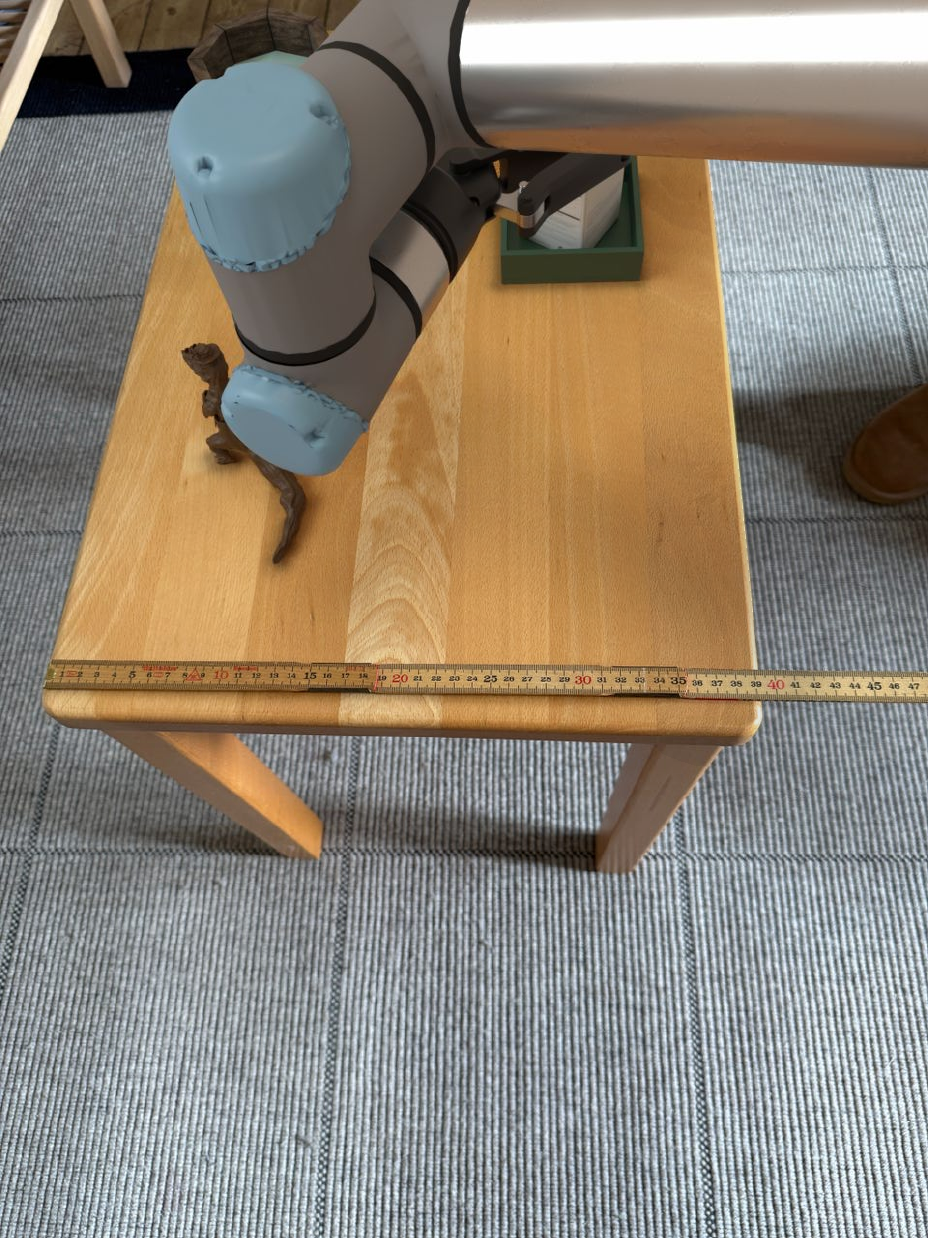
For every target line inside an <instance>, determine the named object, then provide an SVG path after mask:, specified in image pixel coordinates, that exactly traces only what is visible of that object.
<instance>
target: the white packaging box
mask: <svg viewBox="0 0 928 1238" xmlns="http://www.w3.org/2000/svg"><path fill="white" fill-rule="evenodd" d="M623 175H624V168H622V169H621V170H619V171H618V172H616V173H615V174H613V175H612V176H610V177H609V178H607V179H606V180H604V181H603V182H601V183H599V184H598V185H596V186H595V187H593V188H592V189H590V190H589V191H587V192H586V193H584V194H583V195H581V196H580V197H578V198H577V199H575V200H574V201H572V202H570V203H569V204H567V205H566V206H564V207H563V208H561V209H560V210H558V211H557V212H555V213H554V214H552V215H551V216H549V217H548V218H547V219H546V221H545V222H544V223H543V225H542V226H541V227H540V229H539V230H538V231H537V233H536V234H535V235H534V236H533V237H530V238H527V239H529V240H531V241H533V242H535V243H537V244H540V245H542V246H544V247H546V248H549V249H579V248H594V247H595V246H596V244H597V243H598V242H599V241H600V240H601V238H602V237H603V236H604V235H605V233H606V232H607V231H608V230H609V228H610V227H611V226H612V225H613V223H614V222H615V221H616V220H617V219H618V217H619V210H620V202H621V192H622V183H623ZM528 183H529V182H528Z"/></svg>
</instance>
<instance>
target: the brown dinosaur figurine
mask: <svg viewBox="0 0 928 1238" xmlns="http://www.w3.org/2000/svg"><path fill="white" fill-rule="evenodd" d="M180 353H181V356H182V359H183V361H184V362H185V363H186V365H187V366H188V367H189V368H190V370H192V371H193V374H195V375H196V376H199V377H200V379H201V381H202V382H203V383H206V384H208V389H204V390H203V392H202V393H201V401H202V404H201V413H202V416H203V417H204V419H208V418H209V417H211V418H212V417H213V421H214V427H215V428H217V429H218V432H215V433H212V434H211V435H209V436H207V438H205V444H207V446H208V449H209V451H211V452H212V453H214V454H215V455H214V458H216V459H217V461H216V464H218V465H223V464H227V463H231V464H232V463H234V462H235V457H234V456H233V454H232V453H231V452H230V451H232V450H236V451H238V452H242V453H245V454H246V455H247V456H248V457H249V459H250V460H251V462H252V463H253V464H254V466H256V468H257V469H258V471H259V472H260V474H261V475H262V476H263V477H264V478H265V479H266V480H267V481H268V482H269V483H270V484H271V486H272V487H273V488H274V489H277V490H279V492H280V496H279V504H280V505H281V507H283V509H284V511H285V513H286V517H285V518H284V519H285V520H284V523H283V527H282V534H281V538H280V542H279V543H278V546H277V547H276V548H275V551H274V554H273V555H272V559H271V562H272V564H273V565H277V564H279V563H280V562H282V559H283V557H284V556H285V554H286V552H287V551H288V550H289V548H290V546H291V544H292V542H293V540H294V538H295V537H296V535H297V534H298V532H299V528H300V521H301V517H302V513H303V510H304V508H305V506H306V504H307V495H306V493H305V491H304V489H303V487H302V485H300V484H299V481H298V478H297V477H296V475H295V473H293V472H290V471H288V470H285V469H282V468H280V467H278V466H275V465H273V464H272V463H270V462H268V461H266V460H265V459H263V458H261V457H260V456H259V455H257V454H256V453H254V452H253V451H252V450H250V449H249V448H248V447H247V446H246V445H245V444H243V443H242V442H241V441H240V440H239V439H238V437H237V436H236V435H235V434H234V433H233V432H232V430H231V429H230V428H229V426H228V425H227V423H226V421H225V419H224V417H223V414H222V410H221V404H222V395H223V392H224V390H225V388H226V386H227V384H228V382H229V380H230V377H229V371H230V366H229V364H228V362H227V360H226V357H225V354H224V353H223V350H221V349H220V347H219V345H218V344H217V343H215V342H211V343H207V344H206V343H204V342H198V343H195V342H194V343H192V345H190V346H189V347H185V348H184V349H181V350H180Z"/></svg>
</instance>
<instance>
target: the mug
mask: <svg viewBox="0 0 928 1238" xmlns="http://www.w3.org/2000/svg"><path fill="white" fill-rule="evenodd" d="M329 35H330V34H329V32H328V31H327V28H326V27H325V26H324V23H323V21H321V18H320V17H319V16H315V15H311V14H306V13H301V12H295V11H290V10H287V9H281V8H277V7H271V6H267V7H263V8H260V9H257V10H254V11H250V12H246V13H244V14H240V15H238V16H235V17H232V18H229V19H225V20H223V21H219V22H216V23H214V24H213V25H212V27H211V28H210V29H209V30H208V32H207V33H206V34H205V35H204V37H203V38H202V39H201V40H200V41H199V43H198V44H197V45H196V46H195V48H194V49H193V51H192V52H191V53H190V55H188V57H187V58H186V61H187V64H188V66H189V68H190V71H191V72H192V74H193V77H194V79H195V82H196V84H198V83H199V82H201V81H202V80H209V79H218V78H220V77H222V76H224V74H225V71H226V70H227V68H229V67H232V66H235V65H239V64H244V63H250V62H276V63H283V64H287V65H291V66H294V67H297V68H299V67H300V66H301V65H302V63H303V62H304V61H305V60H306V59H307V58H308V57H309V56H311V55H312V54H313V53H314V52H315V51H316V50H317V49H318V48H319V46H320V45H321V44H322V43H323V42H324V41H325V40H326V39H327V38H328V37H329Z"/></svg>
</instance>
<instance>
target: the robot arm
mask: <svg viewBox="0 0 928 1238" xmlns="http://www.w3.org/2000/svg"><path fill="white" fill-rule="evenodd" d="M166 138H167V139H166V143H167V144H166V145H167V153H168V158H169V162H170V166H171V169H172V172H173V175H174V178H175V185H176V188H177V191H178V192H179V196H180V199H181V202H182V204H183V208H184V214H185V217H186V220H187V223H188V226H189V229H190V232H191V234H192V236H193V237H194V238H195V240H196V242H197V244H198V246H199V247H200V248H201V249H202V252H203V253H204V257H205V258H206V261H207V263H208V265H209V267H210V269H211V271H212V273H213V276H214V278H215V280H216V282H217V284H218V286H219V289H220V291H221V293H222V295H223V297H224V299H225V302H226V304H227V307H228V309H229V311H230V313H231V317H232V322H233V328H234V330H235V334H236V336H237V339H238V341H239V344H240V346H241V348H242V351H243V354H244V355H243V358H242V360H241V362H240V363H239V364H238V365H237V366H235V367H234V368H233V370H232V372H231V377H229V379H230V380H229V382H228V384H227V386H226V388H225V390H224V392H223V395H222V404H221V410H222V414H223V417H224V419H225V421H226V423H227V425H228V426H229V428H230V429H231V430H232V432H233V433H234V434H235V435H236V436H237V437H238V439H239V440H240V441H241V442H242V443H243V444H245V445H246V446H247V447H248V448H249V449H250V450H252V451H253V452H254V453H256V454H257V455H259V456H260V457H261V458H263V459H265V460H266V461H268V462H270V463H272V464H273V465H275V466H278V467H280V468H282V469H285V470H288V471H290V472H293V474H296V475H299V476H305V477H323V476H327V475H329V474H331V473H333V472H335V471H336V470H337V469H339V468H340V467H341V466H342V464H343V463H344V461H345V460H346V458H347V456H348V455H349V454H350V452H351V451H352V449H353V448H354V446H355V444H356V443H357V441H358V440H359V439H360V437H361V436H362V435H363V434H365V433H367V432H368V430H369V429H370V423H371V421H372V419H373V417H374V416H375V414H376V413H377V410H378V409H379V408H380V405H382V402H383V400H384V399H385V397H386V395H387V394H388V391H389V390H390V388H391V386H392V384H393V383H394V381H395V379H396V377H397V376H398V374H399V372H400V370H401V369H402V367H403V365H404V363H405V362H406V360H407V358H408V357H409V355H410V353H411V351H412V350H413V347H414V346H415V344H416V342H417V341H418V340H419V337H420V336H421V335H422V333H423V331H424V330H425V328H426V327H427V325H428V323H429V322H430V320H431V318H432V316H433V315H434V313H435V311H436V310H437V308H438V307H439V305H440V303H441V301H442V299H443V298H444V296H445V294H446V293H447V290H448V288H449V285H451V284H452V283H453V281H455V278H456V277H457V274H458V273H459V271H460V270H461V268H462V266H463V265H464V263H465V261H466V259H467V258H468V256H469V255H470V254H471V251H472V249H473V248H474V246H475V244H476V242H477V240H478V237H479V235H480V233H481V231H482V229H483V227H484V226H485V225H487V224H488V223H489V222H491V221H493V220H495V219H496V218H497V217H499V218H500V219H501V218H504V219H506V220H509V221H512V222H514V223H517V231H518V234H519V236H521V237H523V238H530V237H533V236H534V235H535V234H536V233H537V231H538V230H539V229H540V227H541V226H542V225H543V223H544V222H545V221H546V219H547V218H548V217H549V216H551V215H552V214H554V213H555V212H557V211H558V210H560V209H561V208H563V207H564V206H566V205H567V204H569V203H570V202H572V201H574V200H575V199H577V198H578V197H580V196H581V195H583V194H584V193H586V192H587V191H589V190H590V189H592V188H593V187H595V186H596V185H598V184H599V183H601V182H603V181H604V180H606V179H607V178H609V177H610V176H612V175H613V174H615V173H616V172H618V171H619V170H621V169H622V168H624V167H625V166H627V165H628V164H629V163H630V162H631V158H632V156H637V157H650V158H651V157H655V158H672V159H692V160H693V159H694V160H714V161H729V162H731V161H732V162H749V163H750V162H753V163H769V164H770V163H772V164H788V165H789V164H792V165H809V166H827V167H829V166H830V167H847V168H848V167H849V168H867V169H888V170H905V171H924V172H925V171H926V172H928V0H360V1H359V2H358V3H357V4H356V6H355V7H354V8H353V9H352V10H351V11H350V12H349V13H348V14H347V16H346V17H345V18H344V19H343V20H342V21H341V22H340V23H339V24H338V25H337V26H336V27H335V29H334V30H333V31H332V32H331V33H330V34H329V37H328V38H327V39H326V40H325V41H324V42H323V43H322V44H321V45H320V46H319V48H318V49H317V50H316V51H315V52H314V53H313V54H312V55H311V56H309V57H308V58H307V59H306V60H305V61H304V62H303V63H302V65H301V66H300V67H299V68H297V67H294V66H291V65H287V64H283V63H276V62H250V63H244V64H239V65H235V66H232V67H229V68H227V70H226V71H225V74H224V76H222V77H220V78H218V79H209V80H202V81H201V82H199V83H198V84H197V83H196V84H195V85H194V86H193V87H192V88H191V89H190V90H188V91H187V93H185V94H184V95H183V97H182V98H181V99H180V101H179V102H178V104H177V105H176V107H175V109H174V111H173V112H172V115H171V118H170V120H169V125H168V130H167V136H166ZM495 162H498V165H499V176H498V173H497V170H496V167H495ZM528 182H529V183H528ZM518 188H519V189H518Z"/></svg>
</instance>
